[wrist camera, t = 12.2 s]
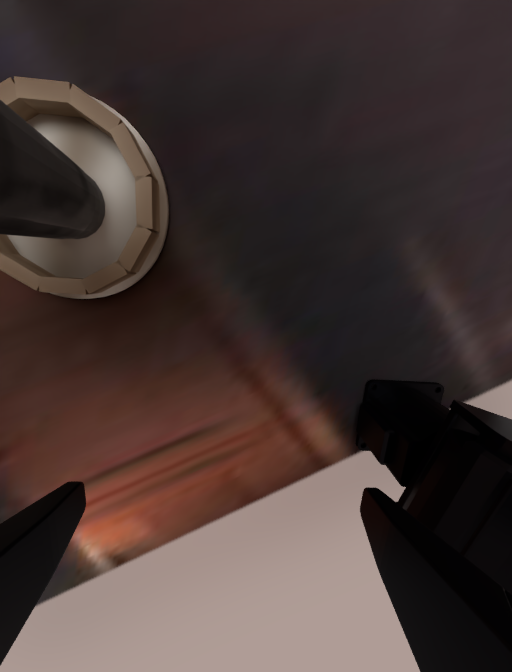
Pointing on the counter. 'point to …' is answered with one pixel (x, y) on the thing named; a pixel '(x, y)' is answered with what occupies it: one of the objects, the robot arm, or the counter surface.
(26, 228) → the beverage cup
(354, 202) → the counter surface
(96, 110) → the ring holder
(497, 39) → the counter surface
